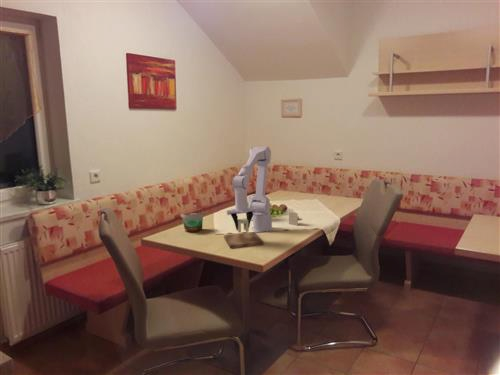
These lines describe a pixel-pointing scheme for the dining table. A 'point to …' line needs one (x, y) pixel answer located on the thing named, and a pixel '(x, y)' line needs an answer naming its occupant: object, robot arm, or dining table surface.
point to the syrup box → (250, 201)
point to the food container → (193, 222)
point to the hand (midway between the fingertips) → (242, 227)
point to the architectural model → (294, 218)
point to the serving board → (243, 240)
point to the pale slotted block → (246, 226)
